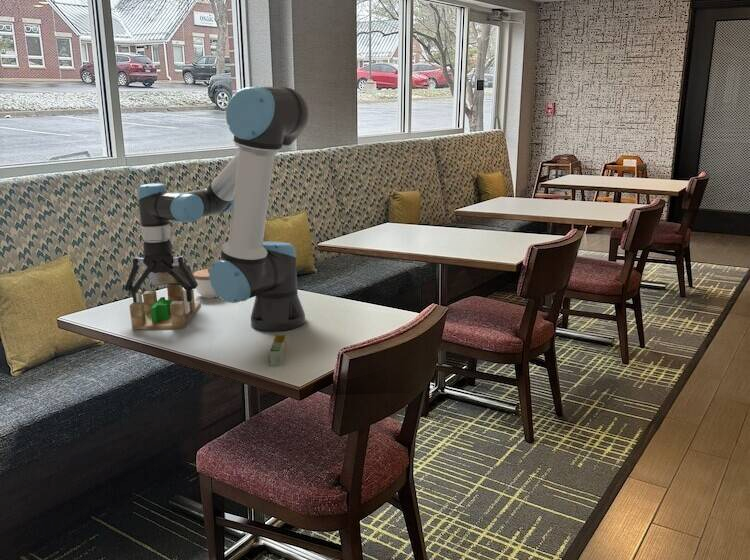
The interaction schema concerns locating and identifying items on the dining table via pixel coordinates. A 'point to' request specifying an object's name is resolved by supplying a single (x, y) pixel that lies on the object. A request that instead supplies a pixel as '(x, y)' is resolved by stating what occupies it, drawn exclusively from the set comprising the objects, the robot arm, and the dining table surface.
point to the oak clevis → (178, 317)
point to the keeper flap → (168, 276)
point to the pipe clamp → (161, 310)
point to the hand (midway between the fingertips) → (164, 313)
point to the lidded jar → (204, 284)
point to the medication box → (277, 350)
